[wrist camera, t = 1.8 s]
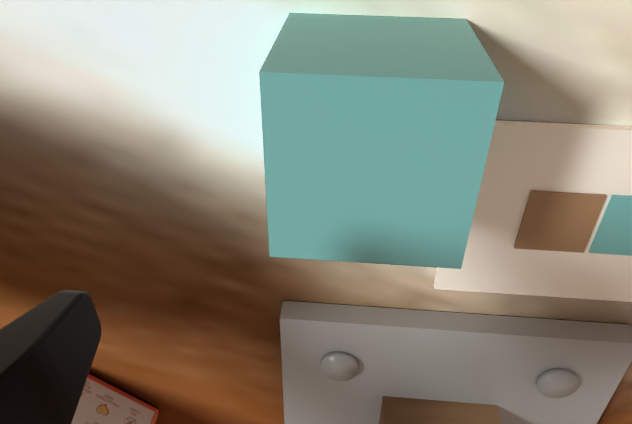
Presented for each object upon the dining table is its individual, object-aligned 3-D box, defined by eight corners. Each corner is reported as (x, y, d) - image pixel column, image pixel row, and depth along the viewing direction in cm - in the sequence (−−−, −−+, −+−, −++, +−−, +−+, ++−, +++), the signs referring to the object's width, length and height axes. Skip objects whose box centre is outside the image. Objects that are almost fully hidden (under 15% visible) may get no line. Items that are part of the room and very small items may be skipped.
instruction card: (433, 283, 20) (434, 290, 20) (465, 118, 16) (467, 124, 16) (699, 301, 19) (705, 308, 19) (802, 133, 15) (812, 139, 15)
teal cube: (292, 163, 17) (269, 256, 13) (290, 12, 15) (259, 72, 10) (439, 171, 17) (460, 268, 13) (465, 18, 14) (504, 82, 10)
